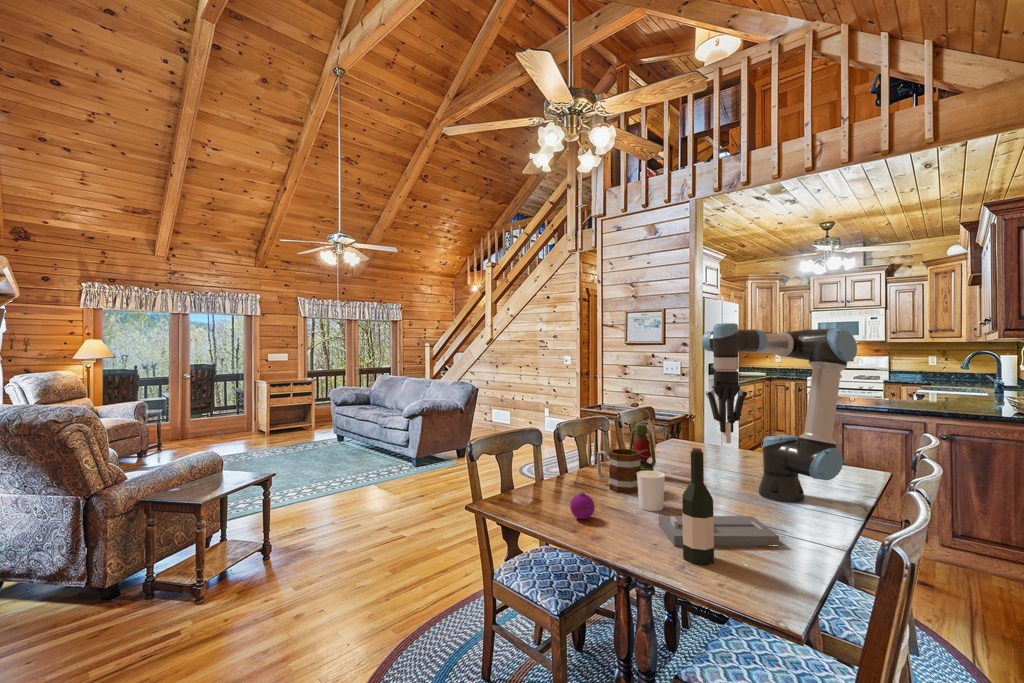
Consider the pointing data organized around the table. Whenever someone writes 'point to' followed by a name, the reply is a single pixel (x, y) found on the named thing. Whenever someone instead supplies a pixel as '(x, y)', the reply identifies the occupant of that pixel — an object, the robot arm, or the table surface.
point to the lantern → (643, 443)
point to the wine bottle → (698, 516)
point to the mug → (622, 469)
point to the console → (724, 531)
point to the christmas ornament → (582, 506)
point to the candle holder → (651, 490)
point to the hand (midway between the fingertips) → (726, 442)
